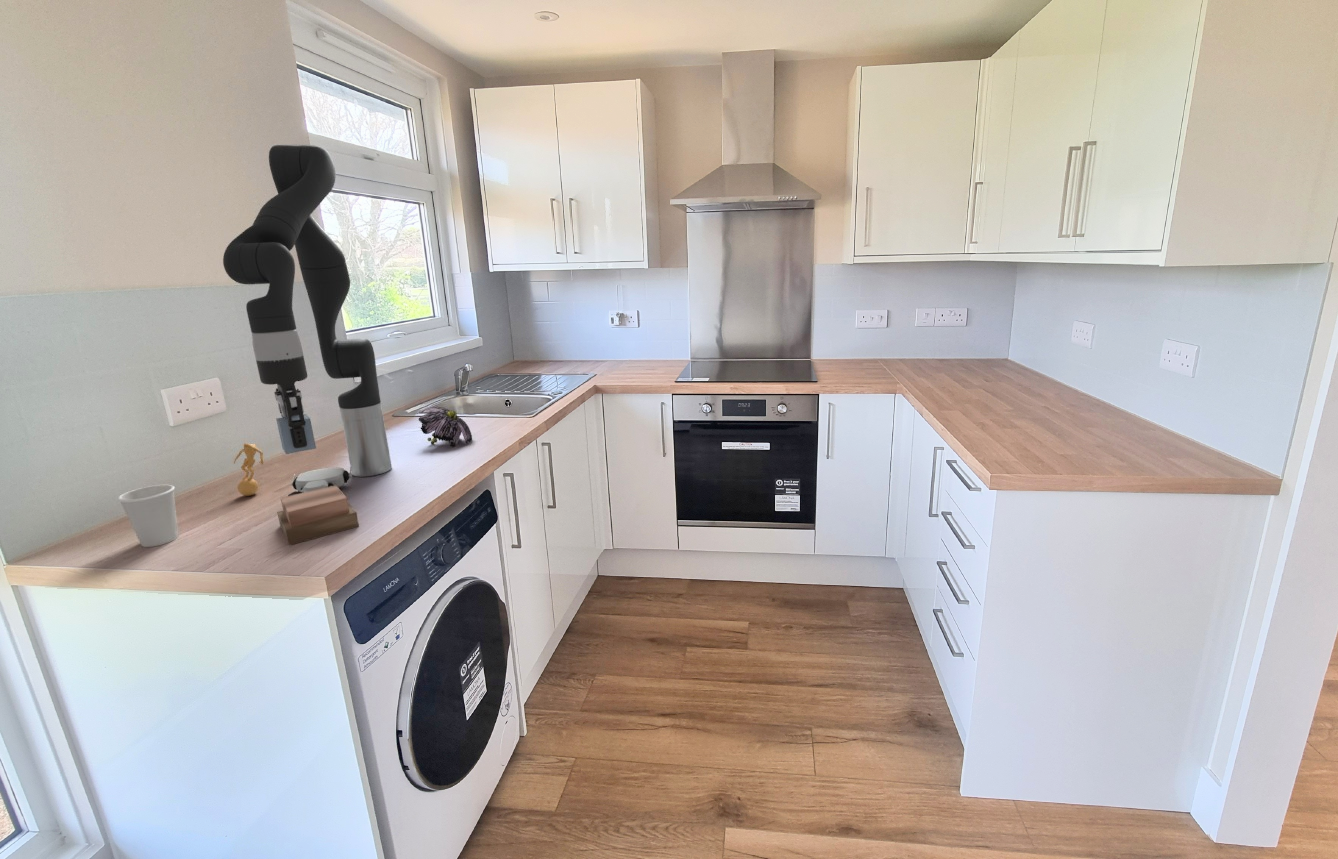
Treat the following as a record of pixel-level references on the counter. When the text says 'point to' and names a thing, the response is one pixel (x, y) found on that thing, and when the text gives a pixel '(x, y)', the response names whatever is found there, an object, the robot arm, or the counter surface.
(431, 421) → the decorative flower
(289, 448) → the slate brick
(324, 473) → the robot toy
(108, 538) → the counter surface
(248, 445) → the figurine
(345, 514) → the wooden stepped block
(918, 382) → the counter surface
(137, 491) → the dixie cup
